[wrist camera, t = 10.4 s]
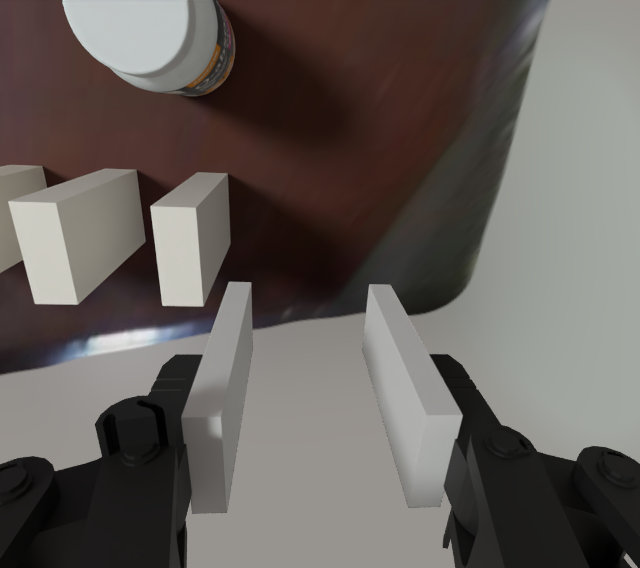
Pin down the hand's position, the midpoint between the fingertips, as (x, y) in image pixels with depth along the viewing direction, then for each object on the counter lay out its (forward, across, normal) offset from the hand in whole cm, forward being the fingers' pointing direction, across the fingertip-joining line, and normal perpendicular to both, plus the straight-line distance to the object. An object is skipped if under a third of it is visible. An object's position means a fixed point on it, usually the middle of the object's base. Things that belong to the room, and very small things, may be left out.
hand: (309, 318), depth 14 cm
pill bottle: (+16, -7, +10) cm, 20 cm away
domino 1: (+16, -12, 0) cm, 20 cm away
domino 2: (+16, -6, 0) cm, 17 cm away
